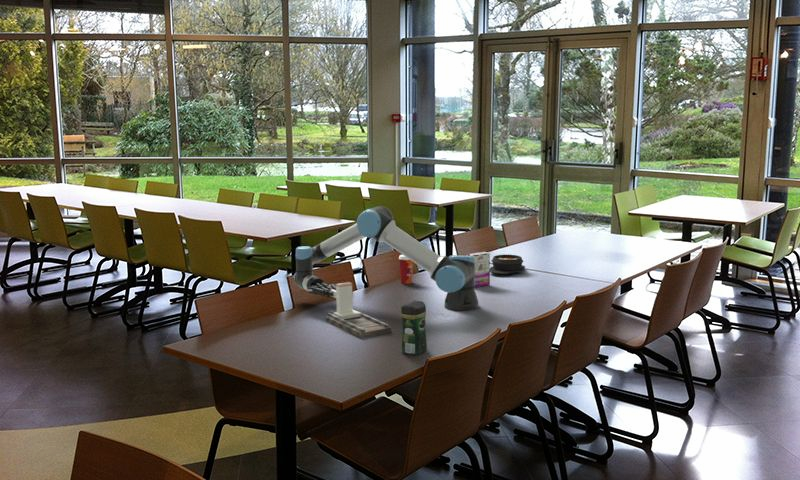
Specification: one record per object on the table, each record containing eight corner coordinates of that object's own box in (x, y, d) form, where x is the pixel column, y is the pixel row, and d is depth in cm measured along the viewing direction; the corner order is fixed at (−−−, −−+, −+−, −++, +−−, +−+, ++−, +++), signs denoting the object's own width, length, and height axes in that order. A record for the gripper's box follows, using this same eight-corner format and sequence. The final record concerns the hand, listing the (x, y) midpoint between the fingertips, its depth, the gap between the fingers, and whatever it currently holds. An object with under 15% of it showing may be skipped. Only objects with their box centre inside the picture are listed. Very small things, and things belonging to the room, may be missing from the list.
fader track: (325, 320, 328) (325, 313, 328) (354, 315, 336) (354, 308, 335) (360, 338, 303) (360, 330, 303) (391, 332, 311) (391, 324, 310)
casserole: (511, 278, 403) (512, 262, 401) (480, 274, 413) (480, 259, 412) (533, 270, 423) (533, 254, 421) (502, 266, 433) (503, 251, 432)
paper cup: (412, 284, 392) (412, 257, 389) (397, 284, 393) (397, 256, 391) (415, 281, 399) (414, 254, 397) (400, 280, 401) (400, 253, 399)
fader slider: (333, 315, 327) (332, 284, 325) (352, 312, 332) (351, 281, 330) (341, 319, 321) (340, 287, 319) (360, 316, 326) (360, 284, 324)
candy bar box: (484, 283, 392) (484, 251, 390) (490, 285, 388) (490, 253, 385) (465, 286, 387) (465, 253, 385) (470, 288, 383) (471, 255, 380)
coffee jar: (411, 346, 293) (410, 298, 289) (429, 349, 288) (429, 300, 285) (397, 353, 284) (397, 303, 281) (416, 356, 280) (416, 306, 277)
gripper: (327, 291, 355) (352, 302, 335) (301, 294, 348) (325, 306, 328) (326, 274, 353) (352, 284, 334) (300, 278, 347) (324, 288, 327)
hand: (338, 295), depth 331 cm, fingers closed
